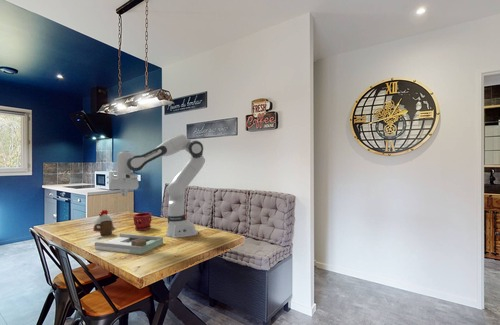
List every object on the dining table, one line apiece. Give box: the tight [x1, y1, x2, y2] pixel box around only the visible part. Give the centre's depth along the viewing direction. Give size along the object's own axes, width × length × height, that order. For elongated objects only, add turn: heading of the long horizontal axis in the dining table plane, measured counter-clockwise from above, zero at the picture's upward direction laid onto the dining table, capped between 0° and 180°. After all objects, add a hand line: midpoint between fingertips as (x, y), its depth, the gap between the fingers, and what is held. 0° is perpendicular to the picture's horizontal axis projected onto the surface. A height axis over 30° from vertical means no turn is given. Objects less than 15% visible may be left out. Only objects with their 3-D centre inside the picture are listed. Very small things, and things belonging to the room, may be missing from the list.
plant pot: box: [133, 212, 152, 231], centre depth 195 cm, size 13×13×12 cm
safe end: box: [129, 238, 164, 255], centre depth 151 cm, size 8×20×4 cm, turn 163°
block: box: [131, 238, 146, 247], centre depth 147 cm, size 6×6×4 cm
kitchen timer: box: [93, 209, 114, 232], centre depth 197 cm, size 14×14×15 cm
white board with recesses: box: [94, 232, 164, 254], centre depth 155 cm, size 34×20×4 cm, turn 73°
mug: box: [93, 220, 113, 237], centre depth 179 cm, size 12×8×9 cm, turn 146°
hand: (124, 195), depth 166 cm, fingers closed
